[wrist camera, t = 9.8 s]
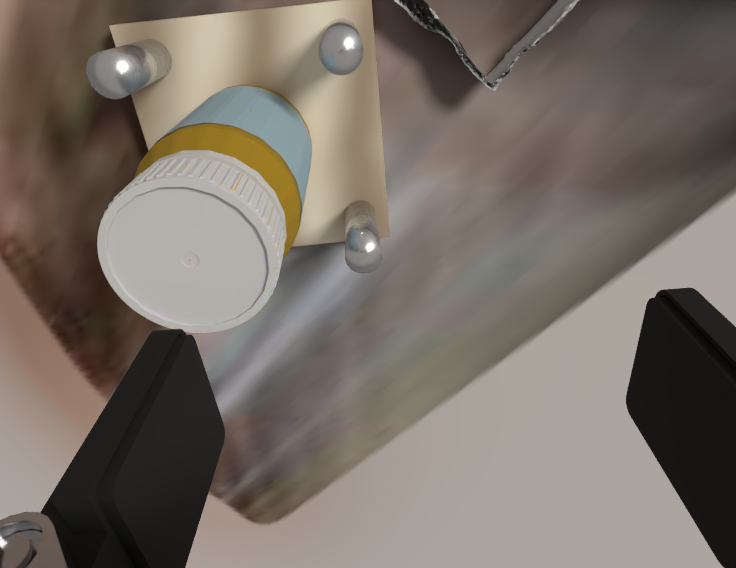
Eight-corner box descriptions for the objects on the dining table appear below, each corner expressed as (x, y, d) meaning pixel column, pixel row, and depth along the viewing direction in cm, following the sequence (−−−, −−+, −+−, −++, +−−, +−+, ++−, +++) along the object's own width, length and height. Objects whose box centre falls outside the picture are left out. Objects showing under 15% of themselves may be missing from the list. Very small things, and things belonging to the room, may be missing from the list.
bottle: (239, 217, 33) (171, 368, 20) (170, 118, 29) (35, 223, 17) (333, 168, 31) (326, 296, 18) (272, 58, 28) (212, 123, 15)
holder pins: (357, 16, 27) (361, 23, 22) (377, 227, 34) (383, 271, 28) (129, 40, 27) (79, 53, 22) (191, 246, 34) (163, 293, 29)
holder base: (370, -3, 28) (371, -3, 27) (388, 229, 35) (389, 236, 34) (117, 24, 28) (109, 25, 27) (187, 249, 35) (182, 257, 34)
